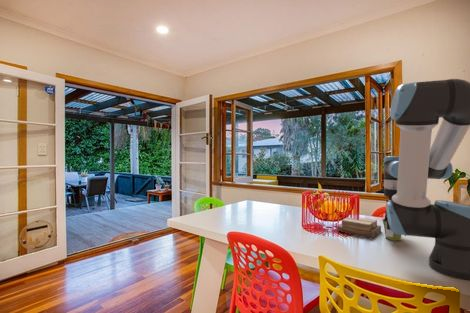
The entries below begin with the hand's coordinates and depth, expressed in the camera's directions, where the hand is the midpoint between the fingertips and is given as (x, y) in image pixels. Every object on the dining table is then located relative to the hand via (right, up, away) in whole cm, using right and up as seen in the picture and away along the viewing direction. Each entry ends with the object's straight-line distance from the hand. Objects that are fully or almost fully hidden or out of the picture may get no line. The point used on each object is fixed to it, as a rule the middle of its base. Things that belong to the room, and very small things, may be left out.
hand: (393, 233), depth 121 cm
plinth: (-10, -3, +11) cm, 16 cm away
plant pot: (0, -3, 0) cm, 3 cm away
